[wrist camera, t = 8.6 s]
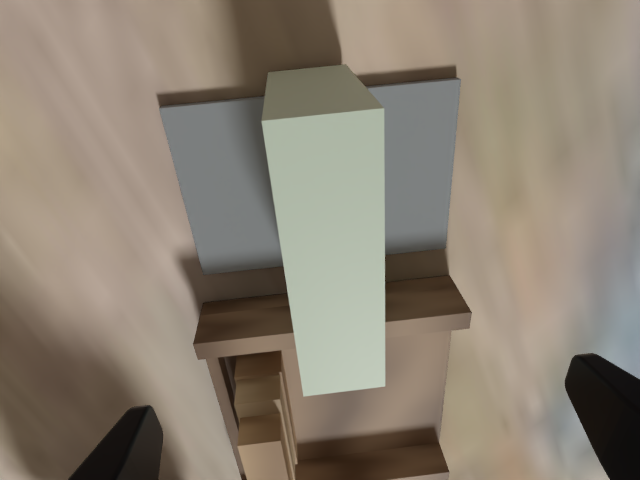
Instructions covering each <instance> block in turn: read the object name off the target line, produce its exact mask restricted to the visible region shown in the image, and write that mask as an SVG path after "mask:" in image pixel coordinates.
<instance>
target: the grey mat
mask: <svg viewBox="0 0 640 480" xmlns="http://www.w3.org/2000/svg"><path fill="white" fill-rule="evenodd" d="M460 83H461V79H459V78H447V79H437V80H427V81H416V82H406V83H395V84H385V85H375V86H365V87H366V88H367V89H368V90H369V91H370V92H371V94H372V95H373V96H374V97H375V98H376V99H377V100H378V102H379V103H380V104H381V105H382V106H383V107H384V162H385V255H390V254H399V253H408V252H417V251H426V250H436V249H445V248H446V240H447V228H448V217H449V206H450V195H451V184H452V173H453V162H454V150H455V139H456V128H457V117H458V106H459V95H460ZM264 99H265V96H261V97H250V98H240V99H229V100H219V101H209V102H198V103H188V104H178V105H167V106H161V107H160V108H159V110H160V114H161V117H162V121H163V125H164V129H165V132H166V136H167V140H168V144H169V148H170V151H171V155H172V159H173V163H174V166H175V170H176V174H177V178H178V181H179V185H180V189H181V193H182V196H183V200H184V204H185V208H186V211H187V215H188V219H189V223H190V226H191V230H192V234H193V238H194V242H195V245H196V249H197V253H198V257H199V260H200V264H201V268H202V272H203V275H207V274H216V273H225V272H234V271H244V270H253V269H262V268H271V267H280V266H284V265H283V259H282V252H281V246H280V239H279V233H278V226H277V219H276V213H275V206H274V200H273V193H272V187H271V180H270V173H269V167H268V160H267V154H266V147H265V141H264V134H263V128H262V113H263V106H264Z"/></svg>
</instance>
